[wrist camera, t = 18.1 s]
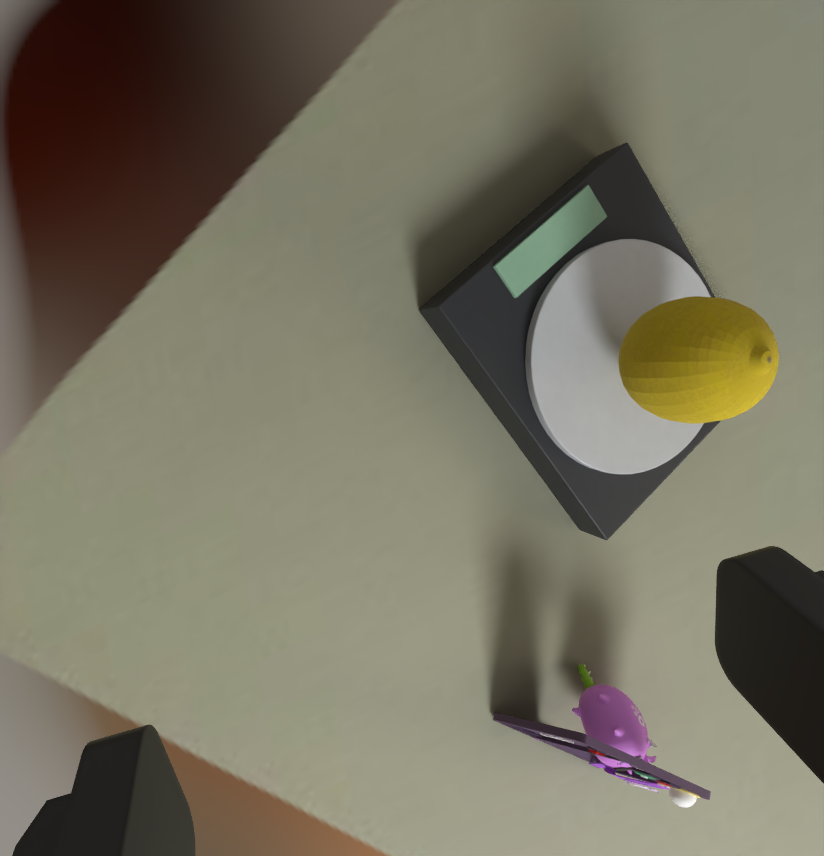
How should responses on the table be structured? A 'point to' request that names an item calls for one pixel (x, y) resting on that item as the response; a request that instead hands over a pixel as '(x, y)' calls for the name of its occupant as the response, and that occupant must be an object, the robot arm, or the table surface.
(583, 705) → the purple toy
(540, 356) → the scale
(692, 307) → the lemon
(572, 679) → the table surface
